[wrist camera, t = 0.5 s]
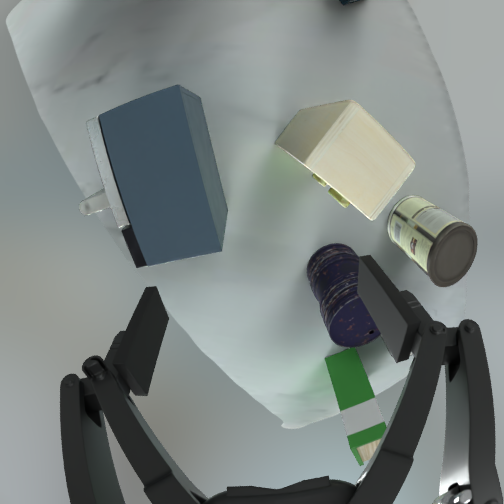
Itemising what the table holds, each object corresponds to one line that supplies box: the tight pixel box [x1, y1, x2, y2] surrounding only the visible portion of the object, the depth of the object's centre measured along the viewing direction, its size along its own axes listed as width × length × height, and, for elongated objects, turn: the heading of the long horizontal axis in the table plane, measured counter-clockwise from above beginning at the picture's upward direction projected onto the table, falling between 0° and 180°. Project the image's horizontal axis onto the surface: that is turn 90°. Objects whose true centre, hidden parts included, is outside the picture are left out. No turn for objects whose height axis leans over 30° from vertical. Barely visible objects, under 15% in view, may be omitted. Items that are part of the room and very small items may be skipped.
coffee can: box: [388, 195, 477, 287], centre depth 37 cm, size 10×10×14 cm
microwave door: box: [79, 116, 131, 227], centre depth 31 cm, size 8×13×14 cm, turn 12°
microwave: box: [99, 85, 228, 268], centre depth 32 cm, size 11×18×14 cm, turn 12°
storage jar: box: [307, 243, 381, 348], centre depth 41 cm, size 10×10×15 cm
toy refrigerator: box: [275, 100, 416, 221], centre depth 28 cm, size 8×7×21 cm
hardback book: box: [325, 347, 387, 466], centre depth 51 cm, size 18×7×24 cm, turn 25°
